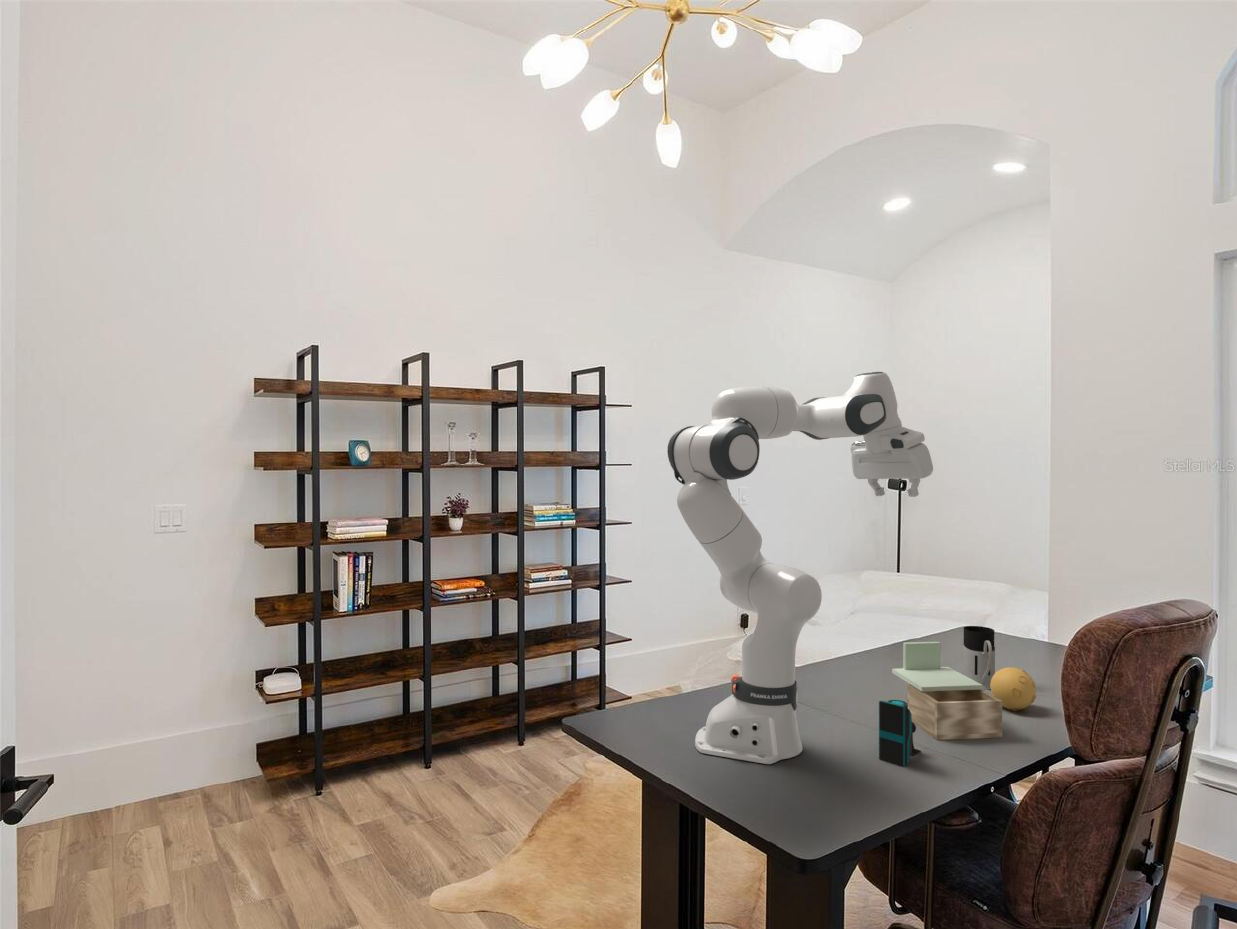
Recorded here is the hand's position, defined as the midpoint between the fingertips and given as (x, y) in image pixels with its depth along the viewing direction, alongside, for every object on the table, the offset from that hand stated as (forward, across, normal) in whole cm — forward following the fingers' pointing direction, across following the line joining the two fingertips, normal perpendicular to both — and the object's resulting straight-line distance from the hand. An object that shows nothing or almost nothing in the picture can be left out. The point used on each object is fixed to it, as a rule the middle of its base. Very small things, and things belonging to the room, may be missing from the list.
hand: (896, 495), depth 173 cm
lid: (+45, +3, -4) cm, 45 cm away
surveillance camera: (+46, +14, -32) cm, 58 cm away
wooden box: (+52, +9, -10) cm, 54 cm away
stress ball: (+59, +9, +13) cm, 61 cm away
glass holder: (+61, -4, +21) cm, 65 cm away
